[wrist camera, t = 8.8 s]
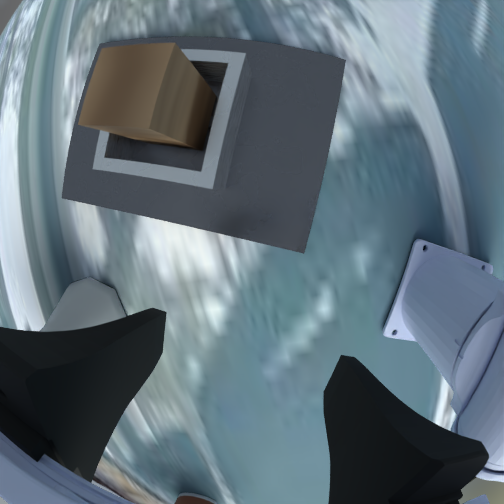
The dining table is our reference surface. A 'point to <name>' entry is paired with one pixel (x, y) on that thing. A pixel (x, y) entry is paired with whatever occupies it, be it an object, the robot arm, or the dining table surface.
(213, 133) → the post socket base
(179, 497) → the coffee cup
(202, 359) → the dining table surface
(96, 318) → the flask
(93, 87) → the walnut rail post
